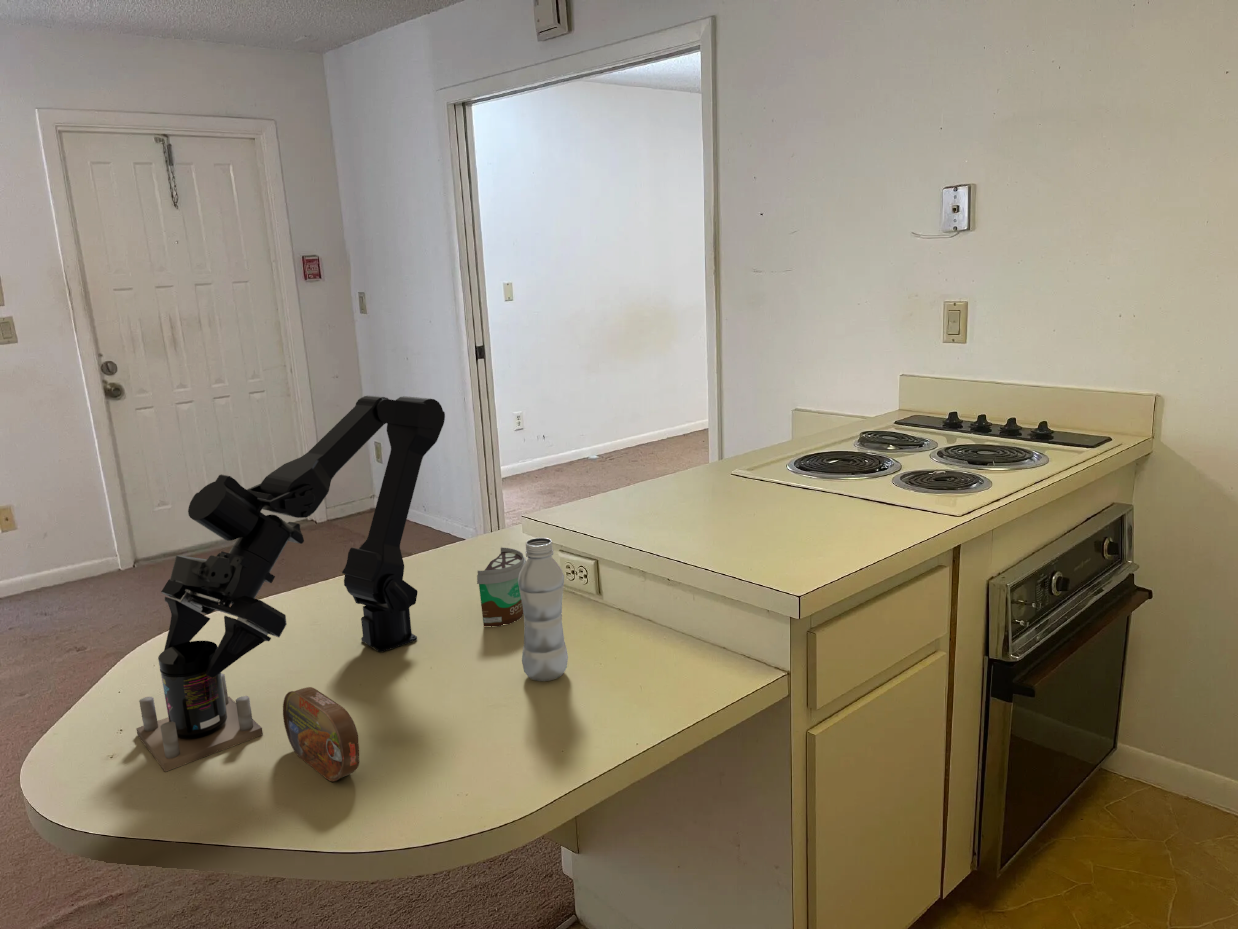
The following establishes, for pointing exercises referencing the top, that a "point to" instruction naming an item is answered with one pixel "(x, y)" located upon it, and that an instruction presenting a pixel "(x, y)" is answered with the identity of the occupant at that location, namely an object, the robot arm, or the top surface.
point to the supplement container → (192, 689)
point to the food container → (501, 588)
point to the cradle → (182, 751)
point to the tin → (321, 733)
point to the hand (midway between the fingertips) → (187, 667)
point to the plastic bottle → (542, 612)
